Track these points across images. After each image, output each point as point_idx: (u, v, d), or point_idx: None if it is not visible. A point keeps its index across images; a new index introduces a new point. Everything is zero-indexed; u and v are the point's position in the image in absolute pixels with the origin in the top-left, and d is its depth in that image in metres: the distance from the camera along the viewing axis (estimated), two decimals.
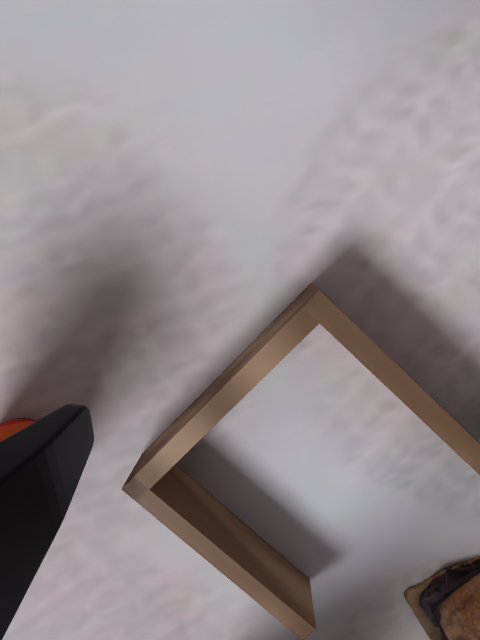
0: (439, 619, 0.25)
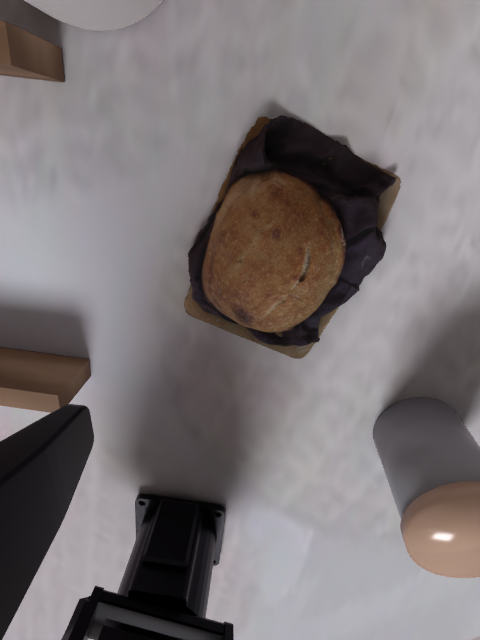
0: (218, 310, 0.18)
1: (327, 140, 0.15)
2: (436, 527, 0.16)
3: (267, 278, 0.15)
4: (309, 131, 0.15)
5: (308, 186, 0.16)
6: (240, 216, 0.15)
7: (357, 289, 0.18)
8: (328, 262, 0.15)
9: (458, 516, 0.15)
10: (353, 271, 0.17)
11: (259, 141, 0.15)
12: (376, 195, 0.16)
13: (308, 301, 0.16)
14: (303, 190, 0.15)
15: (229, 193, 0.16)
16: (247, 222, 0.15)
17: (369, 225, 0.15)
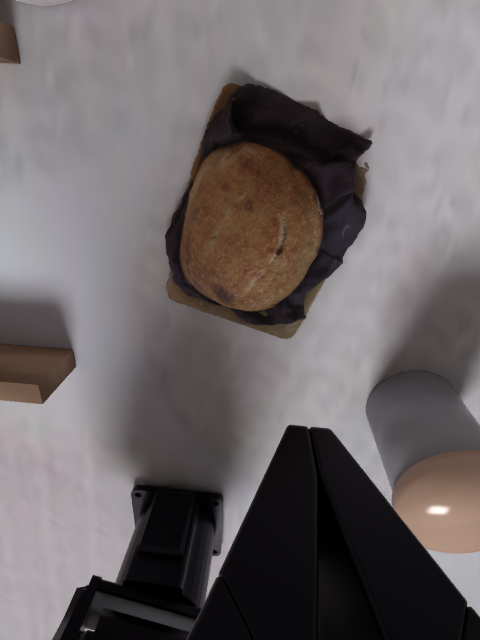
0: (199, 292, 0.18)
1: (297, 106, 0.15)
2: (427, 500, 0.15)
3: (243, 253, 0.15)
4: (278, 98, 0.15)
5: (280, 155, 0.15)
6: (211, 190, 0.15)
7: (340, 261, 0.17)
8: (305, 233, 0.15)
9: (449, 487, 0.15)
10: (334, 242, 0.16)
11: (226, 111, 0.14)
12: (352, 160, 0.15)
13: (288, 275, 0.16)
14: (275, 159, 0.15)
15: (200, 169, 0.16)
16: (218, 196, 0.15)
17: (345, 192, 0.15)
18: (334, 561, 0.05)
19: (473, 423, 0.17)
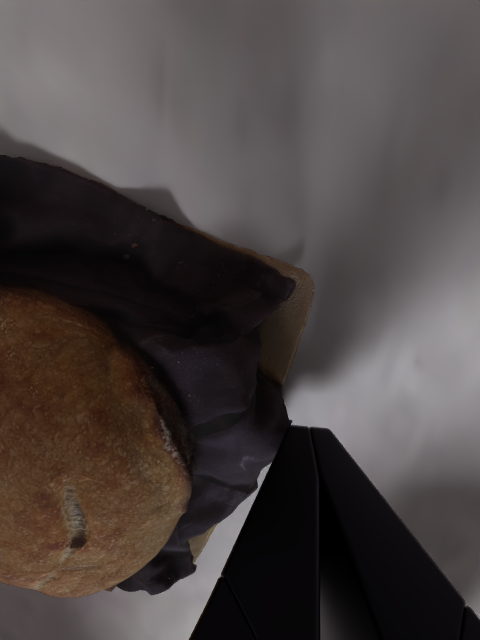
0: None
1: (118, 204, 0.06)
2: None
3: None
4: (70, 186, 0.06)
5: (81, 318, 0.06)
6: None
7: (250, 492, 0.08)
8: (137, 500, 0.06)
9: None
10: (229, 474, 0.08)
11: None
12: (247, 330, 0.06)
13: (121, 563, 0.07)
14: (55, 337, 0.06)
15: None
16: None
17: (230, 409, 0.06)
18: (333, 561, 0.05)
19: None
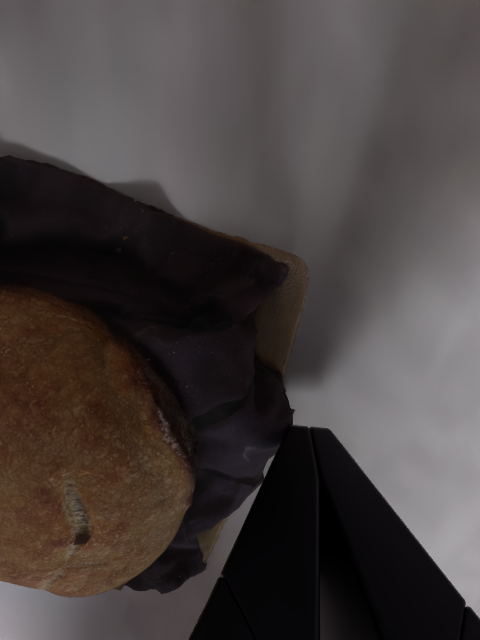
0: None
1: (107, 197, 0.06)
2: None
3: None
4: (59, 182, 0.06)
5: (75, 312, 0.06)
6: None
7: (256, 485, 0.08)
8: (139, 494, 0.06)
9: None
10: (233, 466, 0.08)
11: None
12: (242, 317, 0.06)
13: (127, 560, 0.07)
14: (49, 332, 0.06)
15: None
16: None
17: (228, 397, 0.06)
18: (333, 561, 0.05)
19: None
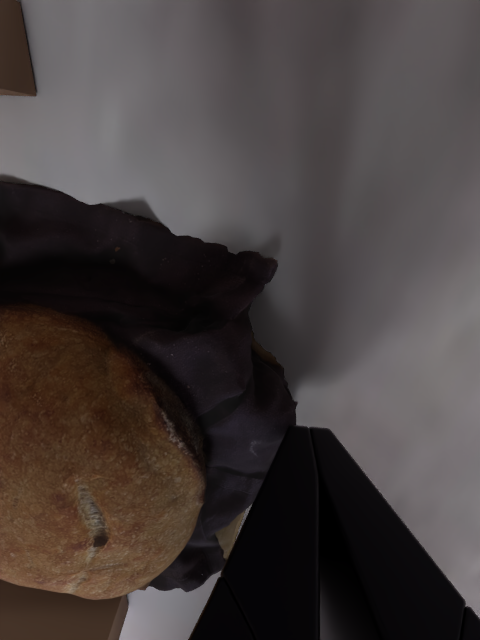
0: None
1: (97, 212, 0.07)
2: None
3: (16, 560, 0.07)
4: (50, 202, 0.07)
5: (75, 325, 0.07)
6: None
7: None
8: (151, 493, 0.07)
9: None
10: (242, 462, 0.08)
11: None
12: (235, 316, 0.06)
13: (147, 559, 0.07)
14: (52, 346, 0.06)
15: None
16: None
17: (228, 394, 0.06)
18: (333, 561, 0.05)
19: None
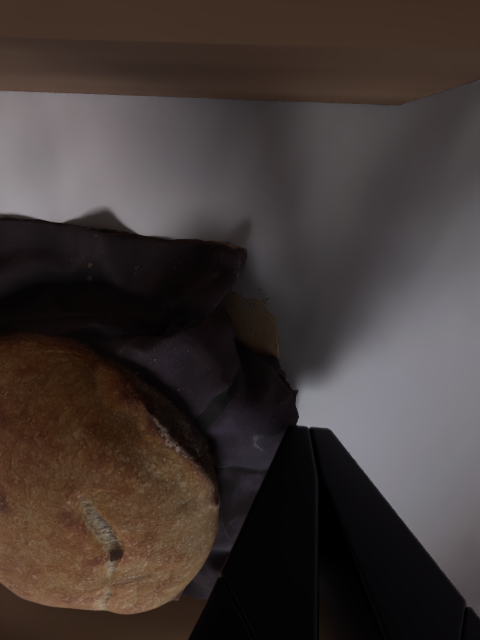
0: None
1: (64, 233, 0.07)
2: None
3: (40, 581, 0.07)
4: (19, 231, 0.07)
5: (61, 345, 0.07)
6: None
7: None
8: (157, 502, 0.07)
9: None
10: (251, 459, 0.08)
11: None
12: (210, 310, 0.06)
13: (169, 568, 0.07)
14: (39, 369, 0.06)
15: None
16: None
17: (215, 391, 0.06)
18: (334, 561, 0.05)
19: None
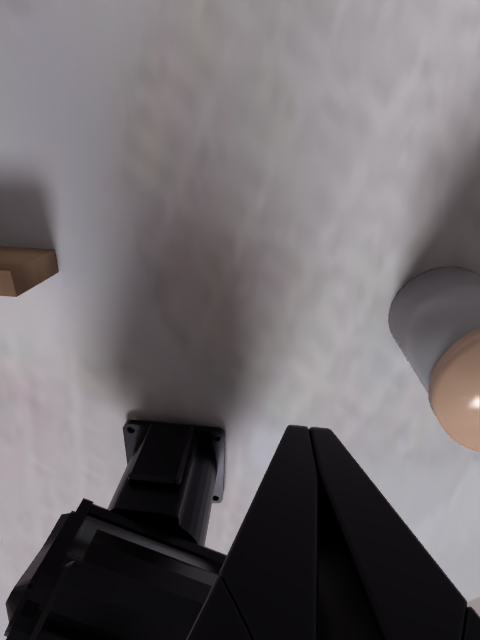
0: None
1: None
2: (475, 380, 0.12)
3: None
4: None
5: None
6: None
7: None
8: None
9: None
10: None
11: None
12: None
13: None
14: None
15: None
16: None
17: None
18: (334, 561, 0.05)
19: None
